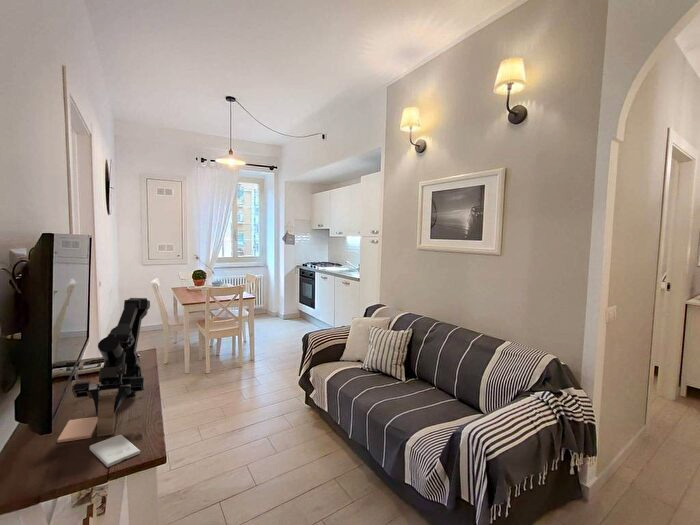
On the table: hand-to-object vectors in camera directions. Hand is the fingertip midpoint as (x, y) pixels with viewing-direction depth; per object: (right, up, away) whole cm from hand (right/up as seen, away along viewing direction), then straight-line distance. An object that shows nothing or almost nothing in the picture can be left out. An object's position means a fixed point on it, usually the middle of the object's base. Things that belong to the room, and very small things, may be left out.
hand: (106, 413), depth 105 cm
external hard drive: (+8, -8, -7) cm, 13 cm away
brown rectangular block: (-1, -6, +2) cm, 7 cm away
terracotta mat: (-10, -6, +2) cm, 11 cm away
